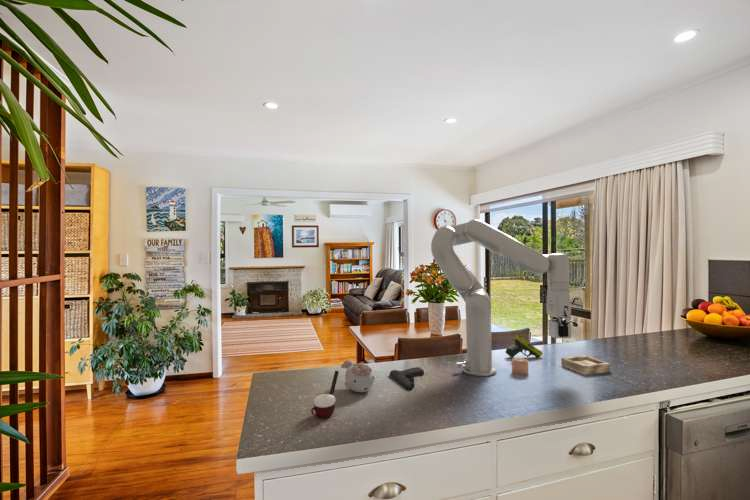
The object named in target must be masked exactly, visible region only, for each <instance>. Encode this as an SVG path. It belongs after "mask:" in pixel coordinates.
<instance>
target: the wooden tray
mask: <svg viewBox="0 0 750 500" xmlns="http://www.w3.org/2000/svg"><path fill="white" fill-rule="evenodd" d="M560 362H561V363H560V365H562V366H561V367H563V366H564V367H563V368H566V369H568V368H569V369H568V370H571V371H573V370H574V372H575V371H576V373H578V372H579V373H578V374H580V373H581V374H580V375H583V376H587V375H594V374H604V373H611V363H610V362H607V361H603V360H602V359H601V360H600V359H598V358H595V357H591V356H589V355H578V356H567V357H561V361H560ZM586 374H587V375H586Z"/></svg>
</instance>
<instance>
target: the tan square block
mask: <svg viewBox="0 0 750 500" xmlns="http://www.w3.org/2000/svg"><path fill="white" fill-rule="evenodd" d="M511 373H512V374H513V375H516V376H528V375H529V359H526V358H522V357H513V358H511Z"/></svg>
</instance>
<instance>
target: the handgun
mask: <svg viewBox="0 0 750 500" xmlns="http://www.w3.org/2000/svg"><path fill="white" fill-rule="evenodd" d="M417 376H425V371H424V369H422V368H421V367H419V366H418V367H411V368H409V369H408V368H407V369H403V370H397V369H393V370H391V371H390V372H389V377H390V378H392V379H393V380H395V381H396V382H397V383H398V384H399V385H401V386H402V387H403V388H404V389H406V390H408V391H412V390H413V388H415V377H417Z"/></svg>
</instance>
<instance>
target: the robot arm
mask: <svg viewBox="0 0 750 500" xmlns="http://www.w3.org/2000/svg"><path fill="white" fill-rule="evenodd" d="M473 242H474V243H476V244H477V245H479V246H481V247H482V248H485V249H487V250H488V251H490V252H492V253H494V254H495V255H498V256H499V257H502V258H505V259H507V260H509V261H511V262H513V263H515V264H516V265H519V266H520V267H522V268H524V269H525V270H527V271H528V272H530V273H533V274H535V275H542V274H545V273H546V275H547V276H546V280H547V281H546V282H547V292H546V315H548V316H549V318H550V320H556V318H559V322H560V326H559V336H560V337H568V326H569V322H571V320H572V317H571V316H572V303H571V294H570V290H571V288H570V286H571V285H570V257H569V255H568V254H567V253H550V254H543V253H541V252H539V251H537V250H536V249H534V248H532V247H530V246H528V245H526V244H524V243H522V242H520V241H519V240H517V239H515V238H514V237H512V236H511V235H509V234H506V233H505V232H504V231H501V230H500V229H498V228H496V227H494V226H492V225H490V224H488V223H486V222H485V221H482V220H481V219H478V218H474V219H471V220H469V221H468V222H464V223H460V224H455V225H451V226H450V225H442V226H441V227H439V228H438V229H437V230H436V231H435V233H434V234H433V236H432V239H431V244H430V246H431V247H430V249H431V250H430V251H431V255H432V256H433V260H434V261H435V263H436V265H437V266H438V267H439V269H440V270H441V272H442V273H443V275H444V276H445V277H446V279H447V280H448V282H449V285H451V287H452V289H454V290H455V291H457V292H458V294H459V296H460V297H461V298H462V299H463V300H464V302H465V331H466V332H465V333H466V334H465V335H466V337H465V338H466V358H464V360H463V361H462V362H460V361H459V362H455V364H454V365H455V368H461V369H462V371H463V372H464V373H465V374H468V375H471V376H477V377H489V376H494V375H495V374H496V373H497V368H495V367H494V366H493V355H492V354H493V352H492V346H493V345H492V302H491V298H490V296H489V294H488V292H487V291H486V290H485V289H484V287H483V285H482V284H481V283H480V281H479V280H478V278H477V277H476V276H475V274H474V273H473V272H472V270H470V269H468V268H467V267H466V266H465V265H464V263H463V261H461V259H460V258H459V256H458V255H457V253H456V251H455V249H454V247H455V246H460V245H464V244H469V243H473ZM562 319H565V320H563V322H562Z"/></svg>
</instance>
